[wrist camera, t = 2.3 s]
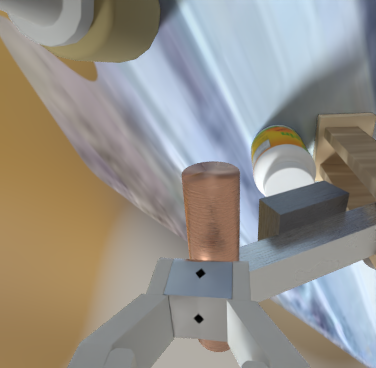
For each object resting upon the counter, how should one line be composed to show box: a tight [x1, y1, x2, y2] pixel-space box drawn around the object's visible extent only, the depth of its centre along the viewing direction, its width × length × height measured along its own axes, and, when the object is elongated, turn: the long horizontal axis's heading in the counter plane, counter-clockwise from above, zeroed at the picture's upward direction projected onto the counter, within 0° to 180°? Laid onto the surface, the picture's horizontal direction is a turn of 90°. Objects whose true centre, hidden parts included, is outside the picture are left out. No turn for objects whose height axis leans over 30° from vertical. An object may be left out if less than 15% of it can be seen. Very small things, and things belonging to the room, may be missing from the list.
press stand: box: [313, 113, 376, 270], centre depth 24 cm, size 7×5×16 cm
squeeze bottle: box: [0, 0, 161, 63], centre depth 20 cm, size 8×8×18 cm
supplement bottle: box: [251, 125, 316, 197], centre depth 28 cm, size 5×5×10 cm
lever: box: [182, 162, 376, 352], centre depth 17 cm, size 10×15×4 cm
